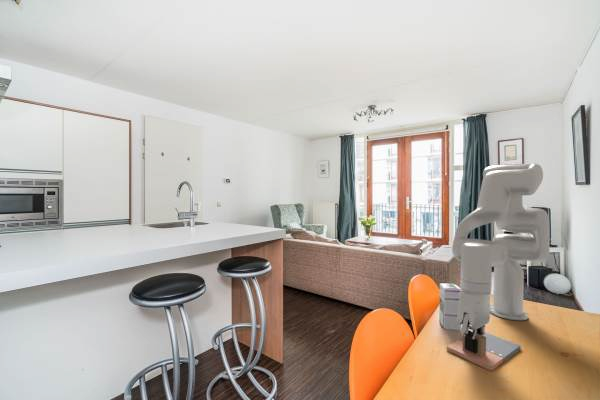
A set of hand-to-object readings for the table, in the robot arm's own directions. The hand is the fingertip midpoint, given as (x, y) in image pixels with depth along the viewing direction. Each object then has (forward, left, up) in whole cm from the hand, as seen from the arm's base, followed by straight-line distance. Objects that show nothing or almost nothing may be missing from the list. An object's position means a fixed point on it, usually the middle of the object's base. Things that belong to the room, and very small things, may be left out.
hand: (474, 348), depth 82 cm
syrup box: (-13, -14, -2) cm, 19 cm away
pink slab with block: (0, 0, -2) cm, 2 cm away
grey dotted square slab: (-10, 0, -2) cm, 10 cm away
